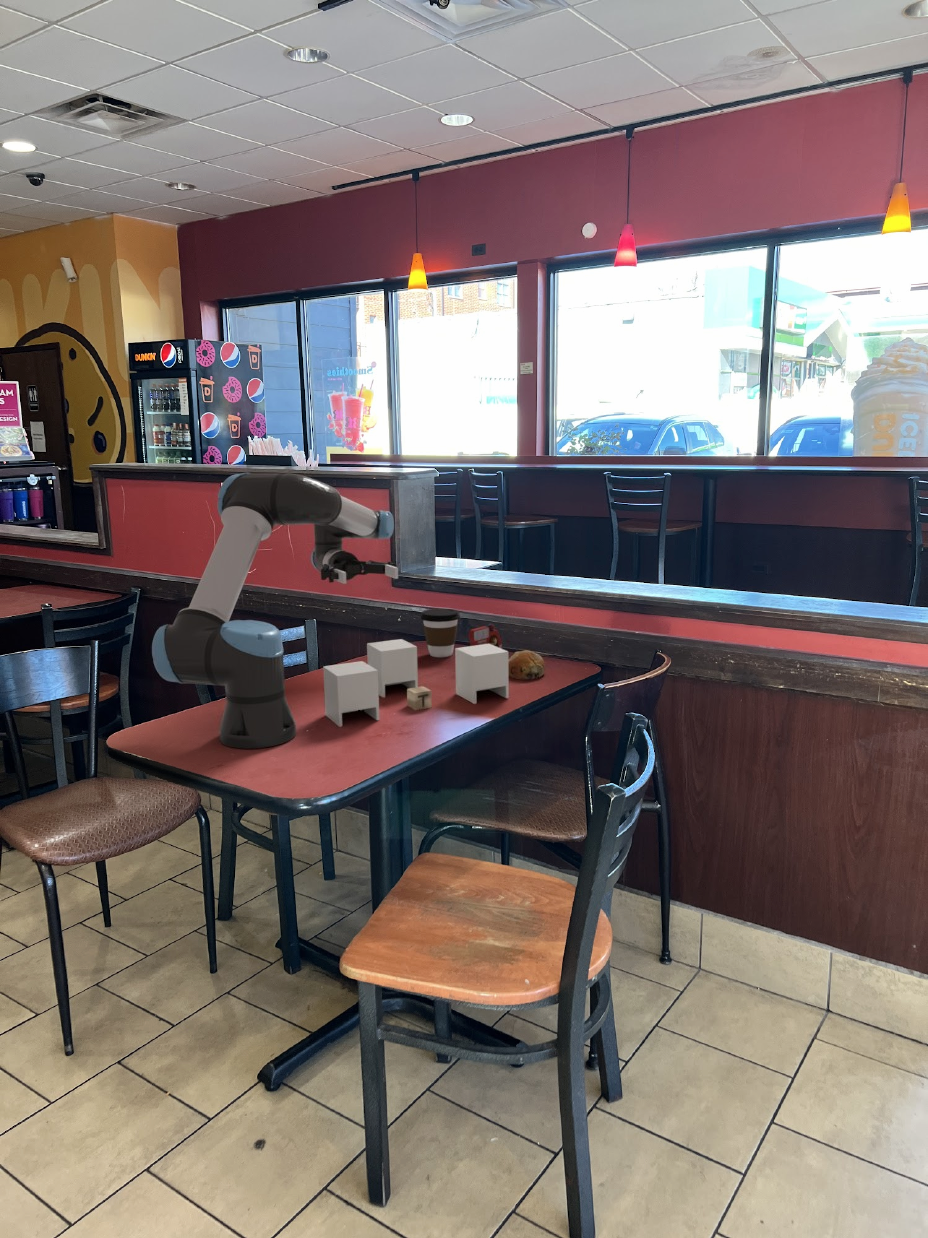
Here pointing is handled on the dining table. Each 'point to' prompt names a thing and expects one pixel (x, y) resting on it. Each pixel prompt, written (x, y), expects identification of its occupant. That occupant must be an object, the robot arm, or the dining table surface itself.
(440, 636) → the coffee cup
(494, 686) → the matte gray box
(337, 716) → the matte white cube
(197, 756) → the dining table surface
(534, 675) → the bread roll
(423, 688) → the letter cube
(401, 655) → the tall off-white cuboid
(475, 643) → the toy fire truck
